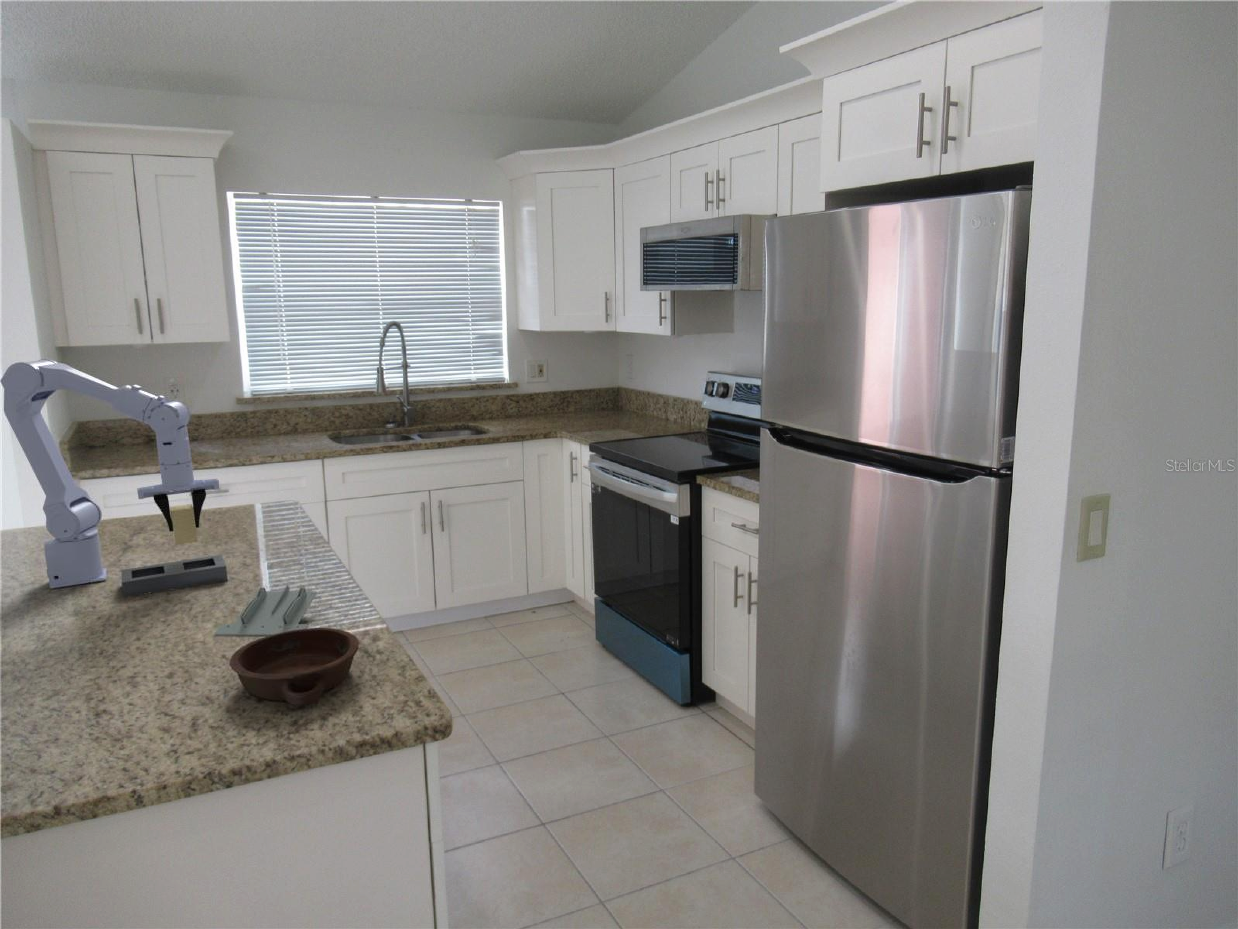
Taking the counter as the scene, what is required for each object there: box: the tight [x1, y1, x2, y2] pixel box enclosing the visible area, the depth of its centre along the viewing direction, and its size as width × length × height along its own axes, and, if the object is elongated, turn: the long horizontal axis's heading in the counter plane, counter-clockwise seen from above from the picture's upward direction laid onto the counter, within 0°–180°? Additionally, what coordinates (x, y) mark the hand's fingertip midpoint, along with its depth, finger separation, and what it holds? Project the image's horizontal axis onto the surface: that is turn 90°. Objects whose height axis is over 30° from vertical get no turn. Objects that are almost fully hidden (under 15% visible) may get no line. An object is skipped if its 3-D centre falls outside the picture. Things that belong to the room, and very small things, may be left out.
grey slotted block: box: [121, 554, 228, 598], centre depth 170 cm, size 18×9×3 cm, turn 120°
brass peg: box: [169, 503, 198, 546], centre depth 174 cm, size 4×4×7 cm
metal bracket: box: [213, 584, 318, 637], centre depth 148 cm, size 14×6×15 cm
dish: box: [229, 627, 360, 707], centre depth 125 cm, size 18×22×5 cm
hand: (184, 528), depth 174 cm, fingers closed on brass peg, 4 cm apart
